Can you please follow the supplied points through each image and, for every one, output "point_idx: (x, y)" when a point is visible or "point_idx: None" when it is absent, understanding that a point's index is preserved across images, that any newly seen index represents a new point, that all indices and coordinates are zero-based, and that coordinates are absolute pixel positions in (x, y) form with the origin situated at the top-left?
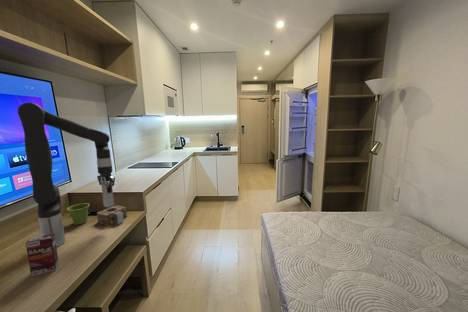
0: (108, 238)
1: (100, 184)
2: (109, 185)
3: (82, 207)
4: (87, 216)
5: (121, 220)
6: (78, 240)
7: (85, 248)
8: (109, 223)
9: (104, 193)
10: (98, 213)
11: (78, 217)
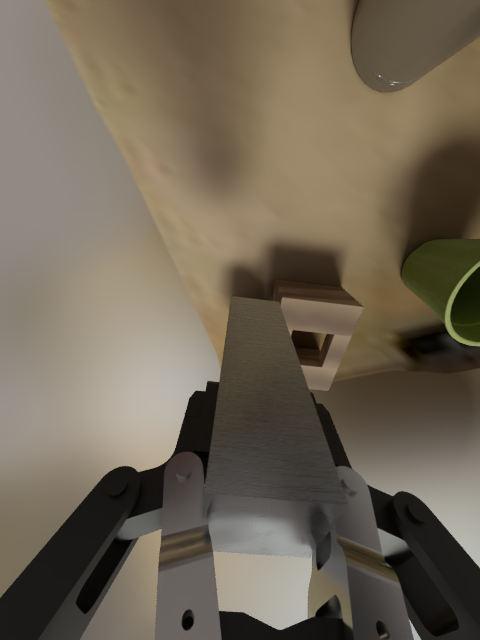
0: (170, 186)
1: (400, 505)
2: (120, 497)
3: None
4: (415, 293)
5: None
6: (295, 116)
7: (186, 58)
8: (274, 288)
9: (260, 366)
10: (349, 304)
11: (445, 251)
